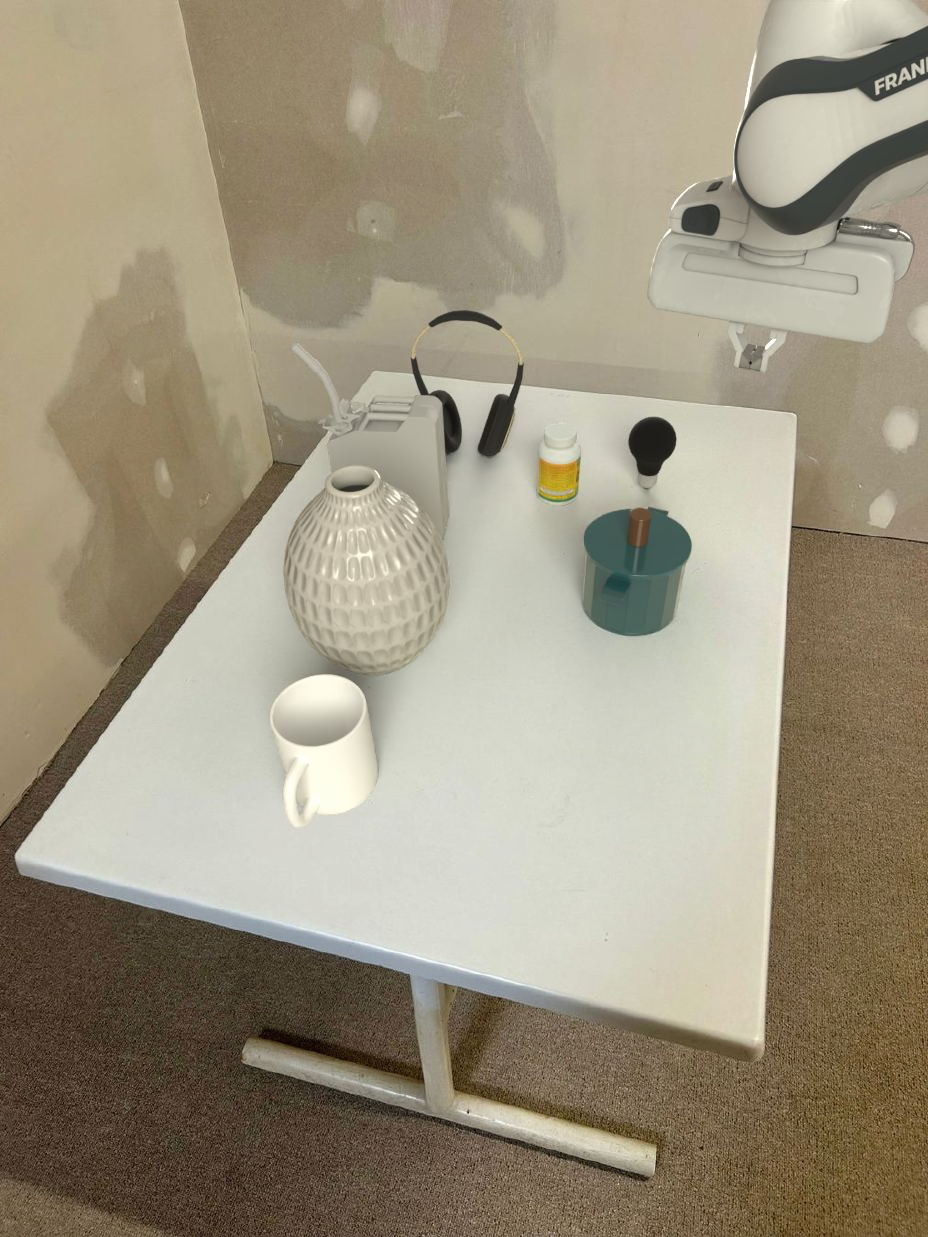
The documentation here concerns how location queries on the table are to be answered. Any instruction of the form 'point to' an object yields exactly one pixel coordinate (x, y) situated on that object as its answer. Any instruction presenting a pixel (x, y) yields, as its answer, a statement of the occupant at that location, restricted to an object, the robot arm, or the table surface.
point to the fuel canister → (391, 442)
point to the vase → (366, 573)
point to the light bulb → (651, 447)
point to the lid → (637, 544)
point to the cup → (323, 746)
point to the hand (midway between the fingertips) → (750, 367)
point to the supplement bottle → (558, 465)
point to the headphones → (501, 406)
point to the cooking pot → (630, 599)
